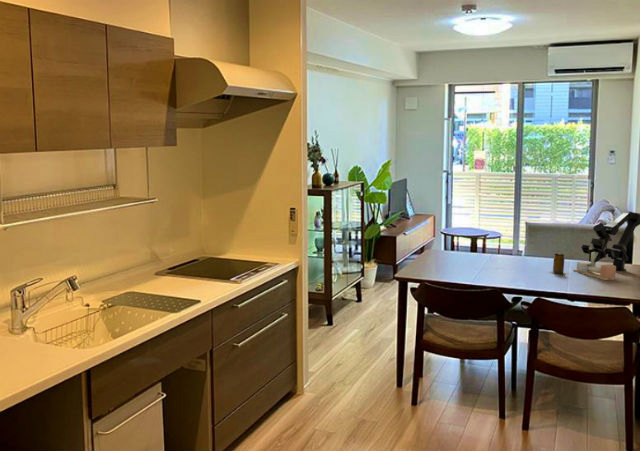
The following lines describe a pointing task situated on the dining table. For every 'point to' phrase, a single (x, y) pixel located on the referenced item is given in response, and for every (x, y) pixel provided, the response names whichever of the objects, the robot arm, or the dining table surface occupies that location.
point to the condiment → (558, 264)
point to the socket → (608, 271)
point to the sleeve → (583, 266)
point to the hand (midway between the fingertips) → (592, 261)
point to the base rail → (593, 274)
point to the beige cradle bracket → (593, 264)
